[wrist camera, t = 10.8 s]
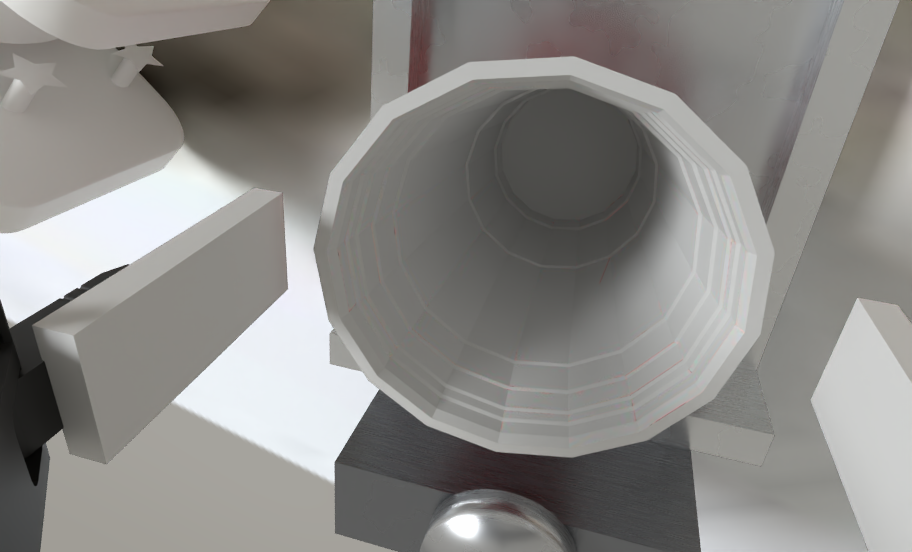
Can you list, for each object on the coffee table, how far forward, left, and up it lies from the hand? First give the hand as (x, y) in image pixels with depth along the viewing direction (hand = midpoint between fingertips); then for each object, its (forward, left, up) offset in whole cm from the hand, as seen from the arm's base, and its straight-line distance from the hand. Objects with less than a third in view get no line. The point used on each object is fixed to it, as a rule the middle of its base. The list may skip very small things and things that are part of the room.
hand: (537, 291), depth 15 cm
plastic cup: (0, 0, -12) cm, 12 cm away
